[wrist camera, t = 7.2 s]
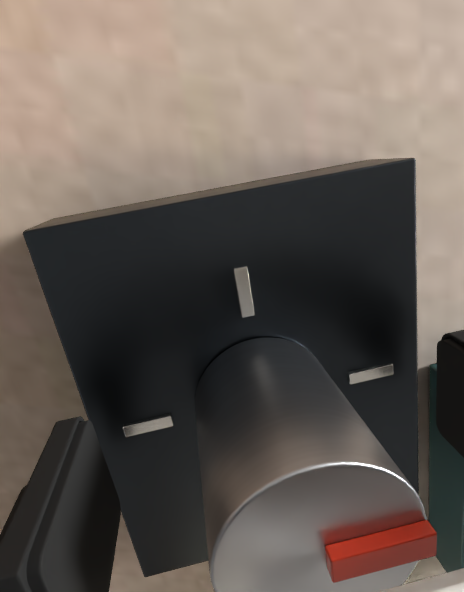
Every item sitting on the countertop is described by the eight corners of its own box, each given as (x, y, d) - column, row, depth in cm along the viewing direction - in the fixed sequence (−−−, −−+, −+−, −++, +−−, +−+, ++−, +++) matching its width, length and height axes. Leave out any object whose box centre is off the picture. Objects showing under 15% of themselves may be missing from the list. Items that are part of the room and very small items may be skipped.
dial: (207, 466, 12) (232, 678, 7) (182, 352, 11) (189, 514, 6) (330, 437, 12) (437, 619, 7) (321, 323, 11) (443, 452, 6)
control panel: (52, 218, 12) (18, 232, 9) (370, 159, 12) (420, 157, 10) (148, 516, 15) (143, 583, 13) (383, 456, 16) (422, 509, 14)
